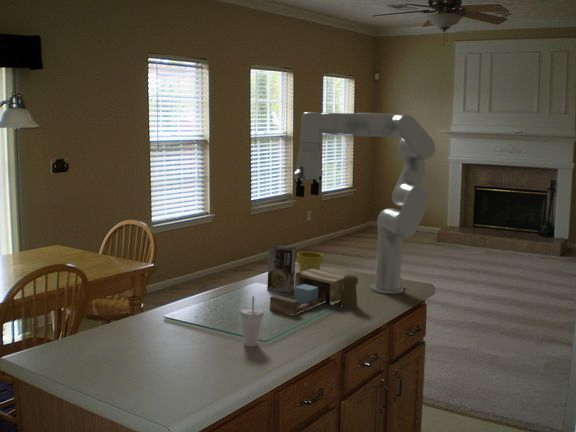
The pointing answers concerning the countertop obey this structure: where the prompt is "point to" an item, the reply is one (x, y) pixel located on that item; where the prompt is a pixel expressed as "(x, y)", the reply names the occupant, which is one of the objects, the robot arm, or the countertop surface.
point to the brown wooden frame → (294, 303)
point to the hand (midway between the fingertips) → (307, 195)
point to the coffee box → (281, 268)
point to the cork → (349, 292)
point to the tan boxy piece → (322, 282)
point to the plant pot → (309, 260)
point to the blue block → (305, 293)
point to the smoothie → (251, 324)
